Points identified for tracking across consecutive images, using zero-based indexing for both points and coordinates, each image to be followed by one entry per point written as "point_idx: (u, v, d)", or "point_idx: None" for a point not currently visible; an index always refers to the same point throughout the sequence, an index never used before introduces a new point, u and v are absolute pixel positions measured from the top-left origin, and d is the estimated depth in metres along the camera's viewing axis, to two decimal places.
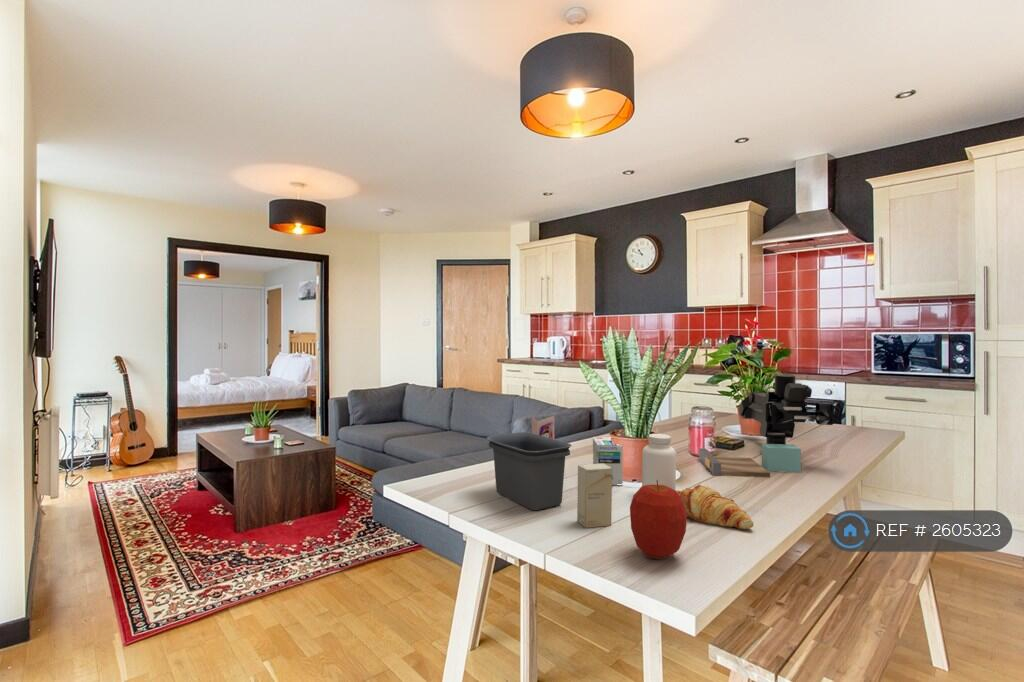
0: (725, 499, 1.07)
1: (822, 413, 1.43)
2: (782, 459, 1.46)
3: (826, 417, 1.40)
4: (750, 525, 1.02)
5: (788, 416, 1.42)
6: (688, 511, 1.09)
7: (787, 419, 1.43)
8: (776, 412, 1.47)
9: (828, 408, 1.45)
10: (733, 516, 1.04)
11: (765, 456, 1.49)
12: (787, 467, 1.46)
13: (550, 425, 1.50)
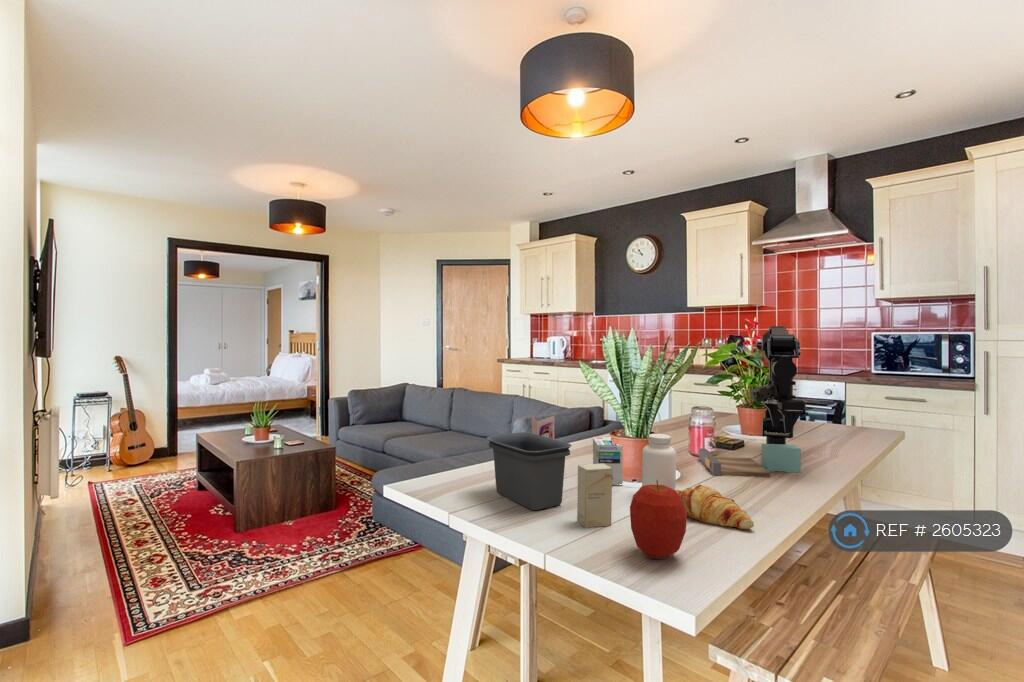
0: (726, 499, 1.07)
1: None
2: (782, 459, 1.46)
3: None
4: (750, 525, 1.02)
5: None
6: (688, 511, 1.09)
7: None
8: None
9: (784, 412, 1.41)
10: (733, 515, 1.04)
11: (765, 456, 1.49)
12: (787, 467, 1.46)
13: (550, 425, 1.50)
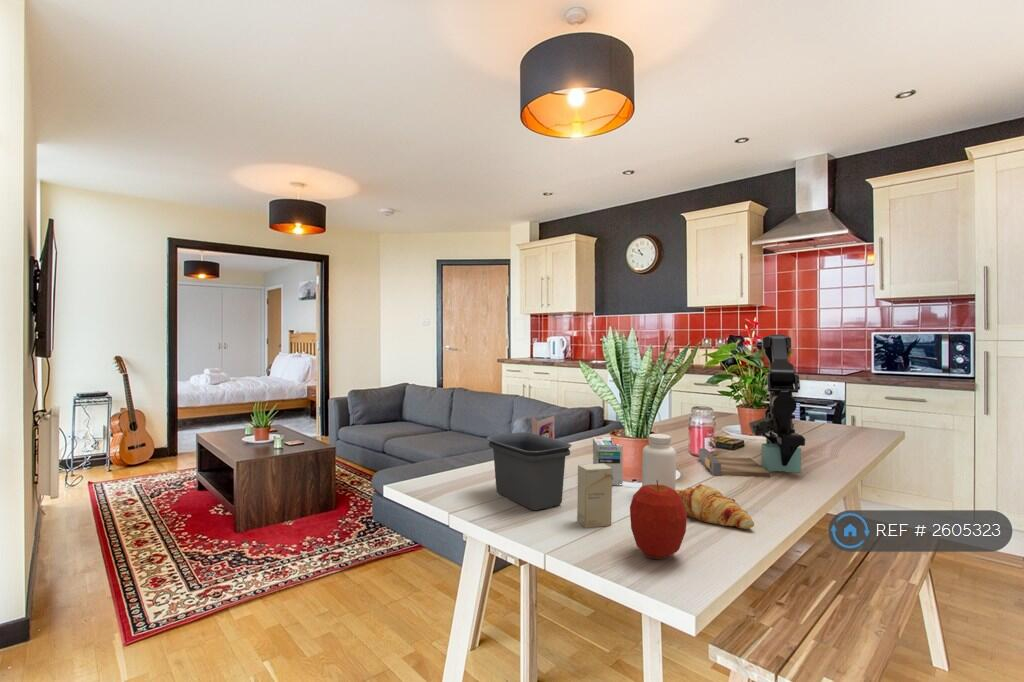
0: (726, 498, 1.07)
1: None
2: None
3: None
4: (750, 525, 1.02)
5: None
6: (689, 510, 1.09)
7: None
8: None
9: None
10: (734, 515, 1.04)
11: (765, 456, 1.48)
12: (787, 467, 1.46)
13: (550, 425, 1.50)
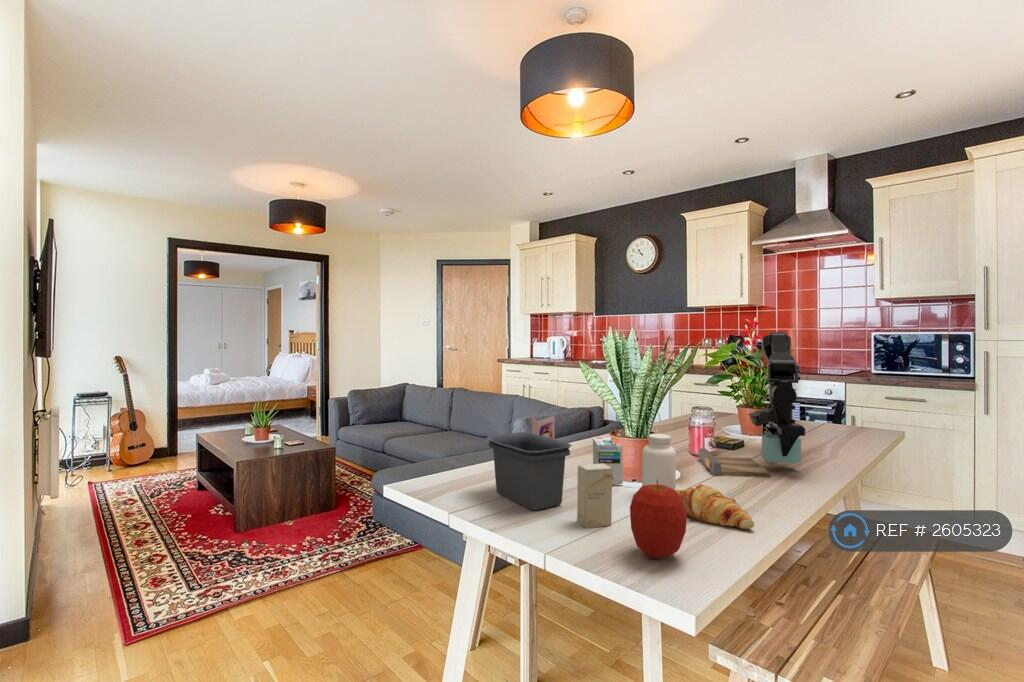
0: (727, 498, 1.07)
1: None
2: None
3: None
4: (750, 525, 1.02)
5: None
6: (689, 510, 1.09)
7: None
8: None
9: None
10: (734, 515, 1.04)
11: (765, 446, 1.48)
12: (787, 457, 1.46)
13: (550, 425, 1.50)
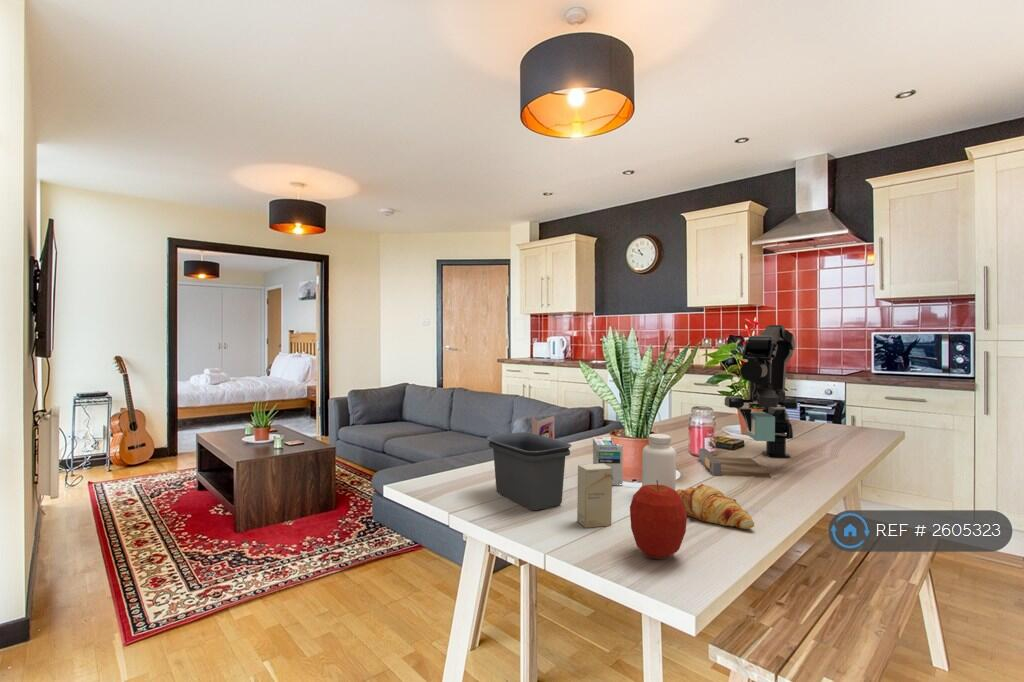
0: (727, 498, 1.07)
1: None
2: None
3: None
4: (751, 525, 1.02)
5: (747, 426, 1.50)
6: (690, 510, 1.10)
7: (746, 424, 1.50)
8: None
9: None
10: (734, 515, 1.04)
11: (767, 427, 1.45)
12: None
13: (550, 425, 1.50)
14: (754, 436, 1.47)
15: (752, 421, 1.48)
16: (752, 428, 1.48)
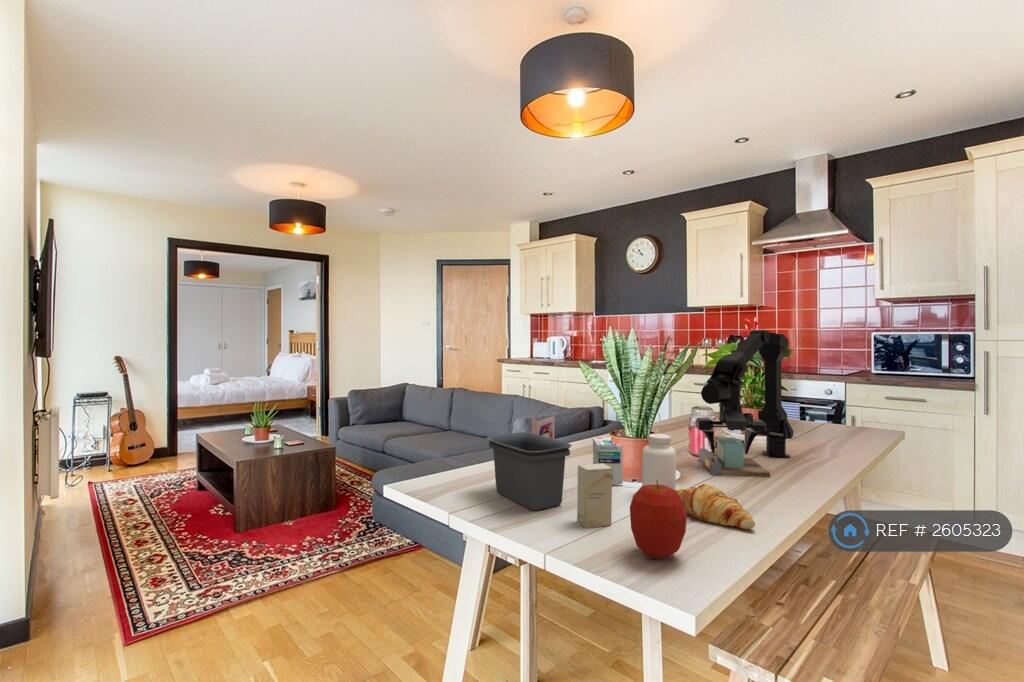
0: (728, 498, 1.07)
1: (747, 441, 1.49)
2: None
3: (745, 451, 1.49)
4: (751, 525, 1.02)
5: (711, 447, 1.51)
6: (691, 509, 1.10)
7: (710, 445, 1.52)
8: None
9: None
10: (734, 515, 1.04)
11: (736, 454, 1.45)
12: None
13: (550, 425, 1.50)
14: (723, 463, 1.48)
15: (721, 448, 1.49)
16: (721, 454, 1.49)
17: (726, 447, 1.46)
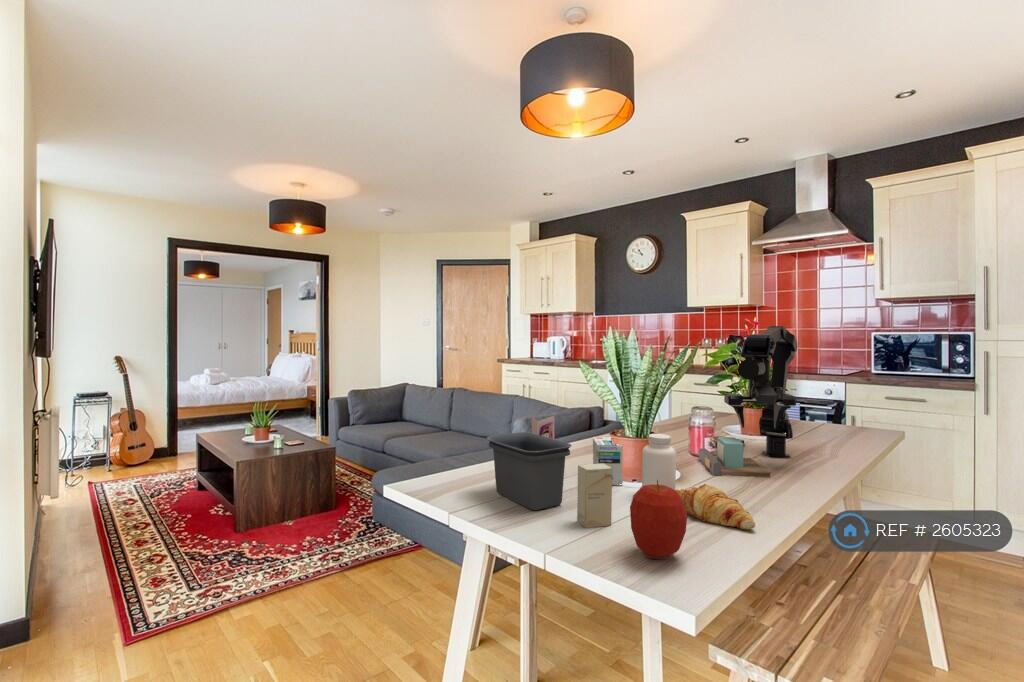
0: (729, 498, 1.07)
1: (777, 415, 1.50)
2: None
3: (775, 425, 1.51)
4: (751, 525, 1.02)
5: (740, 422, 1.53)
6: (691, 510, 1.10)
7: (739, 420, 1.54)
8: None
9: None
10: (735, 515, 1.04)
11: (736, 454, 1.45)
12: None
13: (550, 425, 1.50)
14: (723, 463, 1.48)
15: (721, 448, 1.49)
16: (721, 454, 1.49)
17: (726, 447, 1.46)
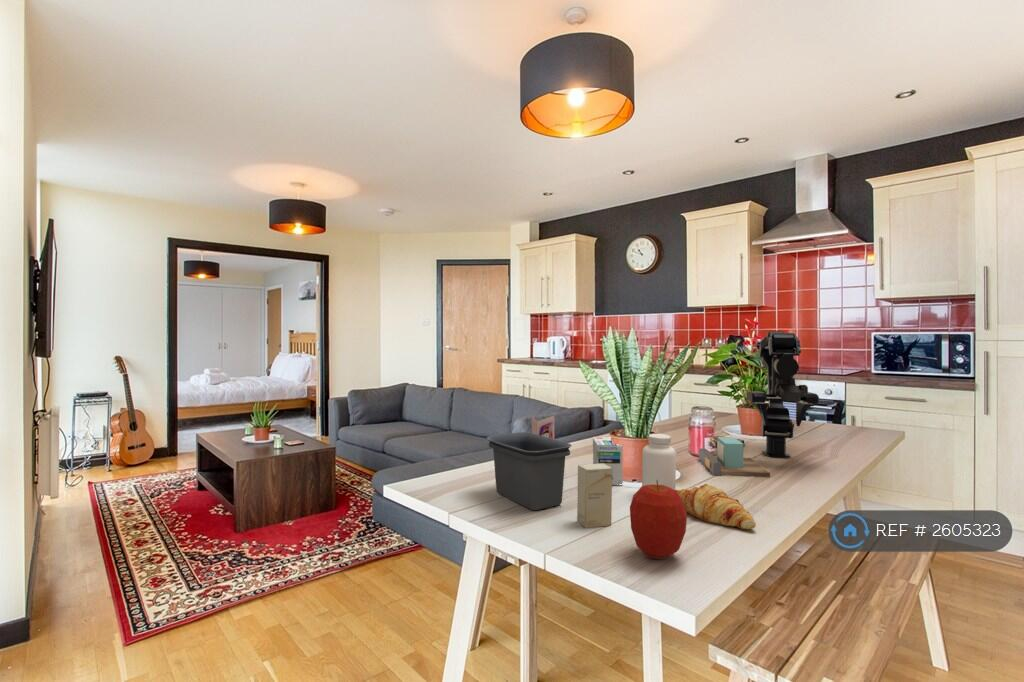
0: (729, 498, 1.07)
1: (799, 413, 1.51)
2: None
3: (797, 423, 1.52)
4: (752, 525, 1.02)
5: (763, 420, 1.54)
6: (692, 509, 1.10)
7: (762, 418, 1.54)
8: None
9: None
10: (735, 515, 1.04)
11: (736, 454, 1.45)
12: None
13: (550, 425, 1.50)
14: (723, 463, 1.48)
15: (721, 448, 1.49)
16: (721, 454, 1.49)
17: (726, 447, 1.46)
